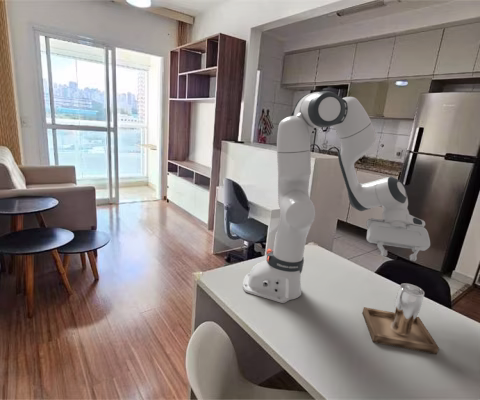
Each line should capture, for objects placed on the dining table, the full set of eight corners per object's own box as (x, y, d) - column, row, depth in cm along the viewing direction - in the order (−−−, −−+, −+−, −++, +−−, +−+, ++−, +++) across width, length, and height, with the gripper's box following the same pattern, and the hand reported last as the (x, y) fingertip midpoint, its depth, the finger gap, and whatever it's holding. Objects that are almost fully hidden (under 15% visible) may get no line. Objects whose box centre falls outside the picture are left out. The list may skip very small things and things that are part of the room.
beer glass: (415, 340, 90) (429, 297, 86) (391, 334, 91) (403, 293, 87) (408, 325, 96) (420, 285, 92) (386, 320, 98) (396, 281, 93)
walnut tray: (372, 342, 88) (374, 335, 88) (362, 313, 102) (363, 307, 101) (436, 354, 86) (438, 347, 85) (416, 323, 99) (418, 317, 99)
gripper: (369, 213, 105) (370, 249, 98) (429, 222, 102) (435, 259, 96) (363, 221, 110) (364, 255, 104) (421, 229, 108) (425, 265, 101)
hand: (398, 257), depth 100 cm, fingers open, 8 cm apart
